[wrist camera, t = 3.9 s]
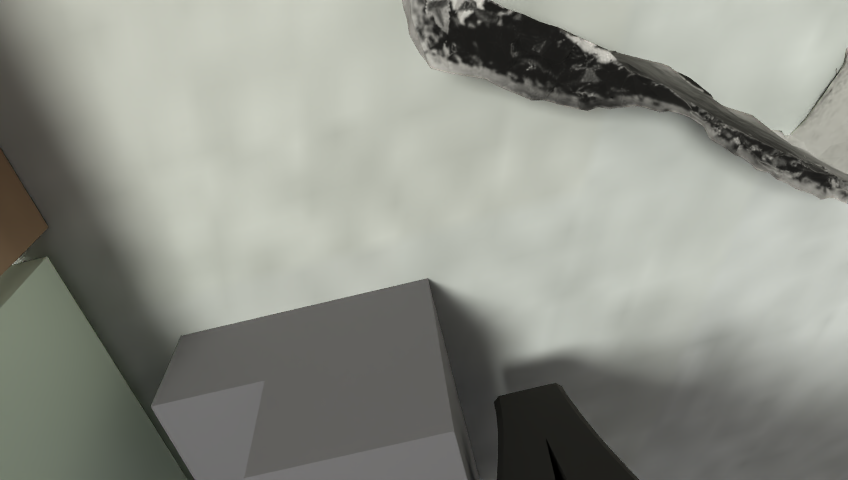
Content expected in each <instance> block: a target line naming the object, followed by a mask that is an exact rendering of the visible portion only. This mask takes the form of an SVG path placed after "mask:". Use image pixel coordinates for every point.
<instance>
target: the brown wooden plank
mask: <svg viewBox="0 0 848 480" xmlns="http://www.w3.org/2000/svg"><path fill="white" fill-rule="evenodd" d="M47 228H48V226H47V224H46V222H45V221H44V219H43V218H42V216H41V214H40V213H39V211H38V209H37V208H36V206H35V204H34V203H33V201H32V200H31V198H30V196H29V195H28V193H27V191H26V190H25V188H24V186H23V185H22V183H21V181H20V180H19V178H18V177H17V175H16V173H15V172H14V170H13V168H12V167H11V165H10V163H9V162H8V160H7V159H6V157H5V155H4V154H3V152H2V150H1V149H0V276H1V275H2V274H3V273H4V272H5V271H6V270H7V269H8V268H9V267H10V266H11V265H12V264H13V263H14V262H15V261H16V260H17V259H18V258H19V257H20V256H21V255H22V254H23V253H24V252H25V251H26V250H27V249H28V248H29V247H30V246H31V245H32V244H33V243H34V242H35V241H36V240H37V239H38V238H39V237H40V235H41V234H42V233H43V232H44V231H45V230H46V229H47Z"/></svg>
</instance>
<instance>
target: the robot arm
mask: <svg viewBox="0 0 848 480" xmlns="http://www.w3.org/2000/svg"><path fill="white" fill-rule="evenodd" d="M494 404H495V409H496V415H497V424H498V470H497V480H639V479H638V478H637V477H636V476H635V475H634V474H633V473H632V472H631V471H630V470H629V469H628V468H627V467H626V465H625V464H624V463H623V462H622V461H621V460H620V459H619V458H618V457H617V456H616V455H615V454H614V452H613V451H612V450H611V449H610V448H609V447H608V446H607V445H606V444H605V442H604V441H603V440H602V439H601V438H600V437H599V436H598V434H597V433H596V432H595V431H594V430H593V428H592V427H591V426H590V425H589V423H588V422H587V421H586V420H585V418H584V417H583V416H582V415H581V413H580V412H579V411H578V409H577V408H576V407H575V405H574V404H573V403H572V401H571V400H570V398H569V397H568V395H567V394H566V393H565V391H564V389H563V388H562V386H560V385H558V384H556V383H554V384H549V385H545V386H541V387H536V388H532V389H528V390H523V391H519V392H515V393H510V394H506V395H502V396H498V398H497V399H496V400H495V401H494Z"/></svg>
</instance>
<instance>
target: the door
mask: <svg viewBox="0 0 848 480" xmlns="http://www.w3.org/2000/svg"><path fill="white" fill-rule="evenodd" d="M0 480H187V478H186V477H185V475H184V473H183V472H182V470H181V469H180V467H179V466H178V464H177V462H176V461H175V459H174V458H173V456H172V454H171V453H170V451H169V450H168V448H167V446H166V445H165V443H164V442H163V440H162V438H161V437H160V435H159V434H158V432H157V430H156V429H155V427H154V426H153V424H152V423H151V421H150V419H149V418H148V416H147V415H146V413H145V411H144V410H143V408H142V407H141V405H140V403H139V402H138V400H137V399H136V397H135V395H134V394H133V392H132V391H131V389H130V388H129V386H128V384H127V383H126V381H125V380H124V378H123V376H122V375H121V373H120V372H119V370H118V368H117V367H116V365H115V364H114V362H113V360H112V359H111V357H110V356H109V354H108V352H107V351H106V349H105V348H104V346H103V345H102V343H101V341H100V340H99V338H98V337H97V335H96V333H95V332H94V330H93V329H92V327H91V325H90V324H89V322H88V321H87V319H86V317H85V316H84V314H83V313H82V311H81V310H80V308H79V306H78V305H77V303H76V302H75V300H74V298H73V297H72V295H71V294H70V292H69V290H68V289H67V287H66V286H65V284H64V282H63V281H62V279H61V278H60V276H59V274H58V273H57V271H56V270H55V268H54V267H53V265H52V263H51V262H50V260H49V259H48V257H43V258H39V259H35V260H31V261H27V262H23V263H19V264H15V265H11V266H10V267H9V268H8V269H7V270H6V271H5V272H4V273H3V274H2V275H1V276H0Z"/></svg>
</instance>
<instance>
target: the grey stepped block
mask: <svg viewBox="0 0 848 480" xmlns="http://www.w3.org/2000/svg"><path fill="white" fill-rule="evenodd" d="M151 408H152V410H153V412H154V413H155V415H156V417H157V418H158V420H159V422H160V423H161V425H162V426H163V428H164V430H165V431H166V433H167V435H168V436H169V438H170V440H171V441H172V443H173V445H174V446H175V448H176V450H177V451H178V453H179V455H180V456H181V458H182V460H183V461H184V463H185V465H186V466H187V468H188V470H189V471H190V473H191V474H192V476H193V478H194V479H195V480H480V479H479V475H478V471H477V467H476V463H475V459H474V455H473V452H472V448H471V444H470V440H469V436H468V432H467V428H466V424H465V420H464V417H463V413H462V409H461V405H460V401H459V397H458V393H457V389H456V385H455V382H454V378H453V374H452V370H451V366H450V362H449V358H448V354H447V350H446V347H445V343H444V339H443V335H442V331H441V327H440V323H439V319H438V315H437V312H436V308H435V304H434V300H433V296H432V292H431V288H430V284H429V280H428V278H427V279H423V280H419V281H414V282H410V283H406V284H401V285H397V286H393V287H389V288H384V289H380V290H376V291H371V292H367V293H363V294H359V295H354V296H350V297H346V298H341V299H337V300H333V301H329V302H324V303H320V304H316V305H311V306H307V307H303V308H299V309H294V310H290V311H286V312H281V313H277V314H273V315H269V316H264V317H260V318H256V319H251V320H247V321H243V322H239V323H234V324H230V325H226V326H221V327H217V328H213V329H209V330H204V331H200V332H196V333H191V334H187V335H183V336H181V337H180V339H179V342H178V344H177V346H176V349H175V351H174V353H173V356H172V358H171V360H170V363H169V365H168V367H167V369H166V372H165V374H164V376H163V379H162V381H161V383H160V386H159V388H158V390H157V393H156V395H155V397H154V400H153V402H152V404H151Z"/></svg>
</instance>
